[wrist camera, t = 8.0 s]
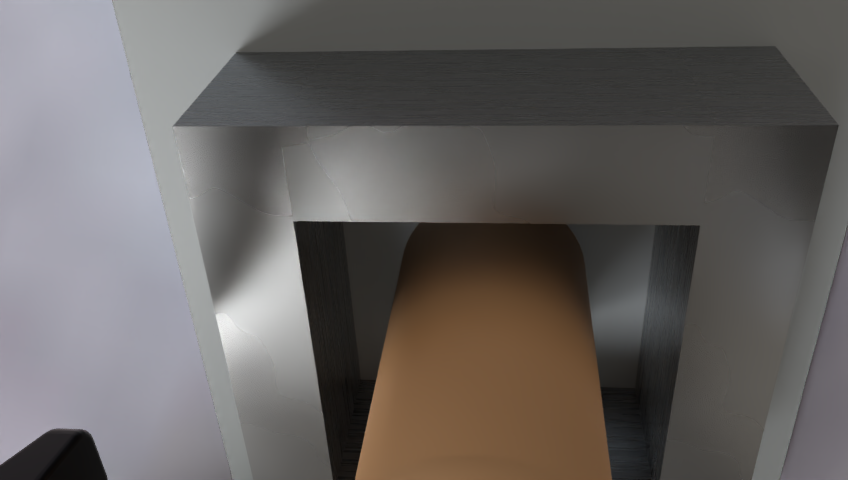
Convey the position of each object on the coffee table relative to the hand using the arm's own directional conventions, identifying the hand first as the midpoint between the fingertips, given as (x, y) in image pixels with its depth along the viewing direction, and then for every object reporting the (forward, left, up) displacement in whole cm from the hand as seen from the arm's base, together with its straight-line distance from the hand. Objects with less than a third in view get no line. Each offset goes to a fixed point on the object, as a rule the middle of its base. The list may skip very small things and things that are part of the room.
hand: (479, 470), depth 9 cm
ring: (0, 0, -4) cm, 4 cm away
